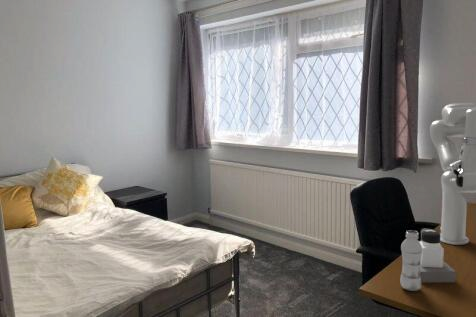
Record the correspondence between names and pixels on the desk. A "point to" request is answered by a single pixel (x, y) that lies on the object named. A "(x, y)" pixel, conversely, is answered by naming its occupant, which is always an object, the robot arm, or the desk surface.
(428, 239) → the medicine bottle
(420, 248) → the plastic bottle
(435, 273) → the base block
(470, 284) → the desk surface
